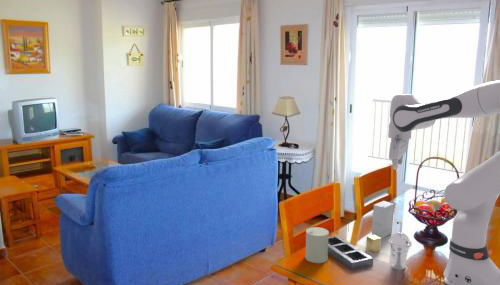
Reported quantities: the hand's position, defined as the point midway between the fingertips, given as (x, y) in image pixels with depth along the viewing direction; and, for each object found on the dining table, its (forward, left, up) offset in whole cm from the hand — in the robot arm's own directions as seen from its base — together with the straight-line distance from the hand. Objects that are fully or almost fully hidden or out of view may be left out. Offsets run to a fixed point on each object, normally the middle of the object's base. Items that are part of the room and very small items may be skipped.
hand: (397, 166), depth 179 cm
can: (+4, +35, -36) cm, 51 cm away
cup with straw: (-15, +10, -36) cm, 40 cm away
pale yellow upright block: (+1, +9, -36) cm, 37 cm away
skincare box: (+13, -6, -36) cm, 39 cm away
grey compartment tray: (+2, +23, -36) cm, 43 cm away
